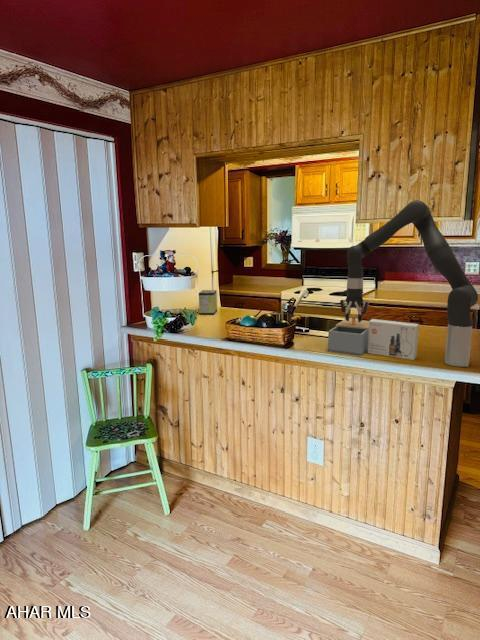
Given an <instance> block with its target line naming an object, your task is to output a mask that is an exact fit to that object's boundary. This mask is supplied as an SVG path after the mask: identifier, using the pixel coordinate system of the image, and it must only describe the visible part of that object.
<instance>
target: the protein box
mask: <svg viewBox="0 0 480 640" xmlns="http://www.w3.org/2000/svg"><path fill="white" fill-rule="evenodd" d="M217 296H218V293H217V289H202V290H200V292H198V310H199V312H198V313H199V314H198V315H199V316H214V315H216V313H217V312H218V299H217V298H218V297H217Z"/></svg>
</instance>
